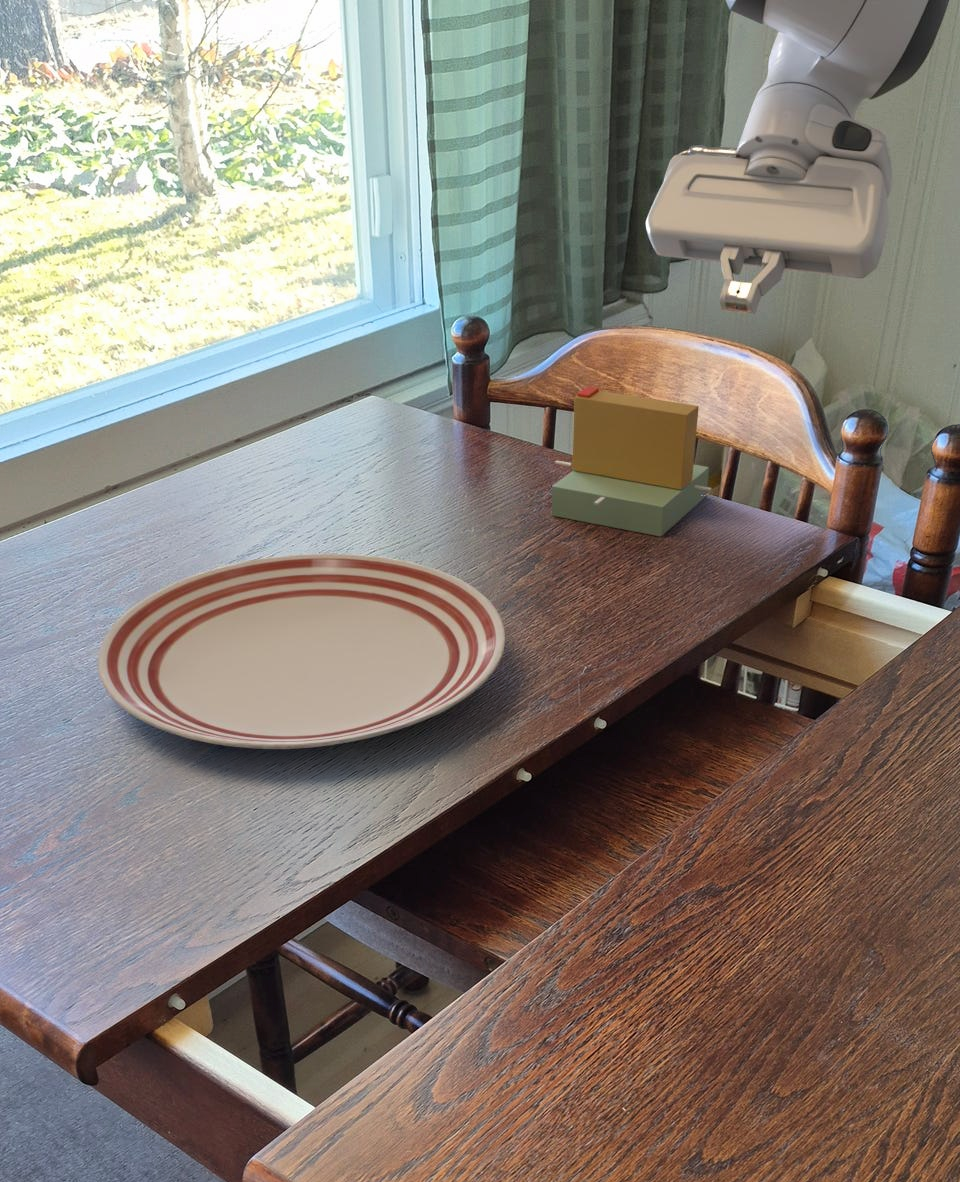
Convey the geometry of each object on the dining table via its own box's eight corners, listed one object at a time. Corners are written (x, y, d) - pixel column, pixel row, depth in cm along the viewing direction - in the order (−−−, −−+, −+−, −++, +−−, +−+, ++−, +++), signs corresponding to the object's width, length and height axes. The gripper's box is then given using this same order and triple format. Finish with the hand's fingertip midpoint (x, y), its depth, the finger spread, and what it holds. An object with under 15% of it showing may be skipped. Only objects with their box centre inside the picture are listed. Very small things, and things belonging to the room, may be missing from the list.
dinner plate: (407, 817, 85) (404, 768, 83) (23, 735, 93) (11, 689, 91) (560, 627, 104) (561, 583, 102) (230, 573, 112) (225, 531, 110)
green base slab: (738, 492, 124) (741, 461, 122) (674, 551, 115) (677, 518, 113) (589, 466, 129) (590, 435, 127) (517, 520, 120) (517, 488, 118)
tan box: (692, 480, 119) (699, 402, 115) (681, 490, 118) (688, 411, 114) (583, 461, 123) (586, 385, 119) (571, 470, 121) (574, 393, 117)
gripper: (668, 118, 122) (614, 271, 122) (904, 136, 114) (848, 299, 114) (684, 169, 128) (633, 315, 128) (910, 189, 120) (856, 344, 120)
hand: (736, 308), depth 121 cm, fingers closed
